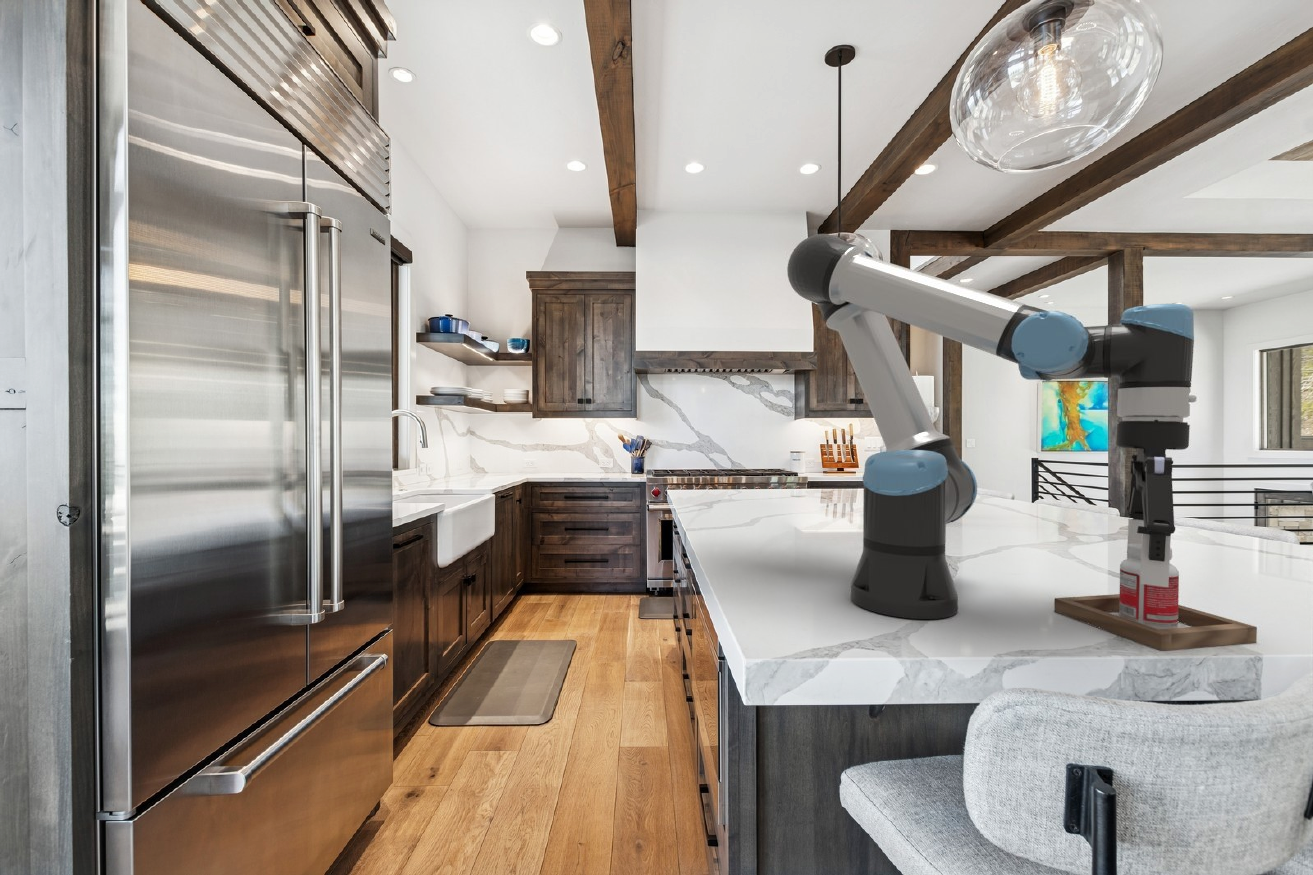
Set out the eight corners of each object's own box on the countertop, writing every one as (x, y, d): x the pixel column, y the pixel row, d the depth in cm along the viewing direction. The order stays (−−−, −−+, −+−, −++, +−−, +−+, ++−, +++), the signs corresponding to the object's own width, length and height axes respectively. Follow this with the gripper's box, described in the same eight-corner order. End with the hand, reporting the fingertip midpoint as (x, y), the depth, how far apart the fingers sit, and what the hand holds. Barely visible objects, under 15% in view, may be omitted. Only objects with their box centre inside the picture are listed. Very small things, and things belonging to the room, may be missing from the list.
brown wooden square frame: (1161, 650, 70) (1161, 634, 70) (1054, 611, 85) (1054, 598, 85) (1256, 642, 73) (1256, 627, 73) (1137, 605, 88) (1137, 593, 88)
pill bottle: (1184, 628, 78) (1186, 548, 78) (1169, 637, 75) (1171, 553, 74) (1128, 615, 83) (1129, 540, 83) (1111, 623, 80) (1113, 544, 80)
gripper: (1212, 419, 66) (1204, 601, 67) (1171, 421, 87) (1165, 560, 87) (1128, 418, 70) (1121, 590, 71) (1108, 420, 91) (1103, 552, 91)
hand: (1145, 573), depth 79 cm, fingers open, 13 cm apart
